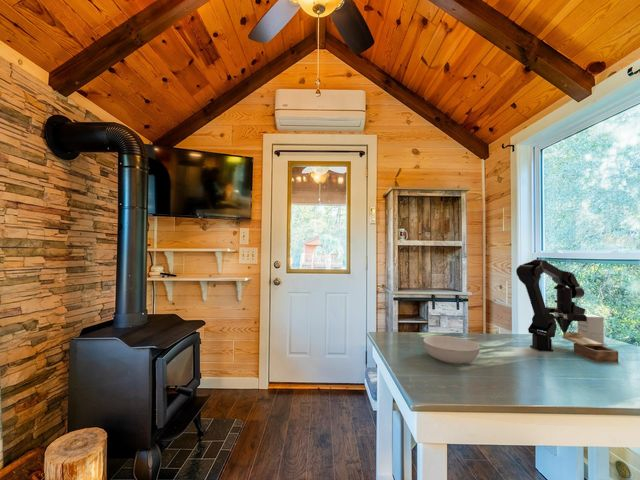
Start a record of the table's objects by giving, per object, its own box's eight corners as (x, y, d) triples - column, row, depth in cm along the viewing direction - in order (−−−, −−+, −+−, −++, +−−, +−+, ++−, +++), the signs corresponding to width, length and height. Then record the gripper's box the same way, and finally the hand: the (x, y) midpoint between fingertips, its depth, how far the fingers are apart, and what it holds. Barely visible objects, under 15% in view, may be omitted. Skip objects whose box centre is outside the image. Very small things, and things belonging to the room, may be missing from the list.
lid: (582, 345, 134) (582, 339, 134) (562, 338, 145) (562, 332, 145) (603, 345, 134) (603, 339, 134) (581, 338, 145) (581, 332, 145)
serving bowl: (487, 371, 116) (487, 352, 116) (426, 366, 120) (426, 348, 120) (472, 353, 136) (472, 337, 136) (420, 349, 140) (420, 333, 140)
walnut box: (595, 362, 128) (595, 351, 128) (573, 353, 139) (573, 342, 139) (618, 362, 128) (618, 351, 128) (594, 353, 139) (594, 343, 139)
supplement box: (592, 339, 161) (592, 314, 161) (604, 343, 154) (604, 317, 154) (576, 338, 162) (576, 313, 162) (587, 342, 154) (587, 316, 155)
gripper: (598, 302, 141) (599, 338, 140) (565, 296, 160) (565, 327, 159) (573, 302, 141) (574, 338, 140) (543, 295, 159) (543, 327, 159)
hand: (564, 332), depth 150 cm, fingers closed
